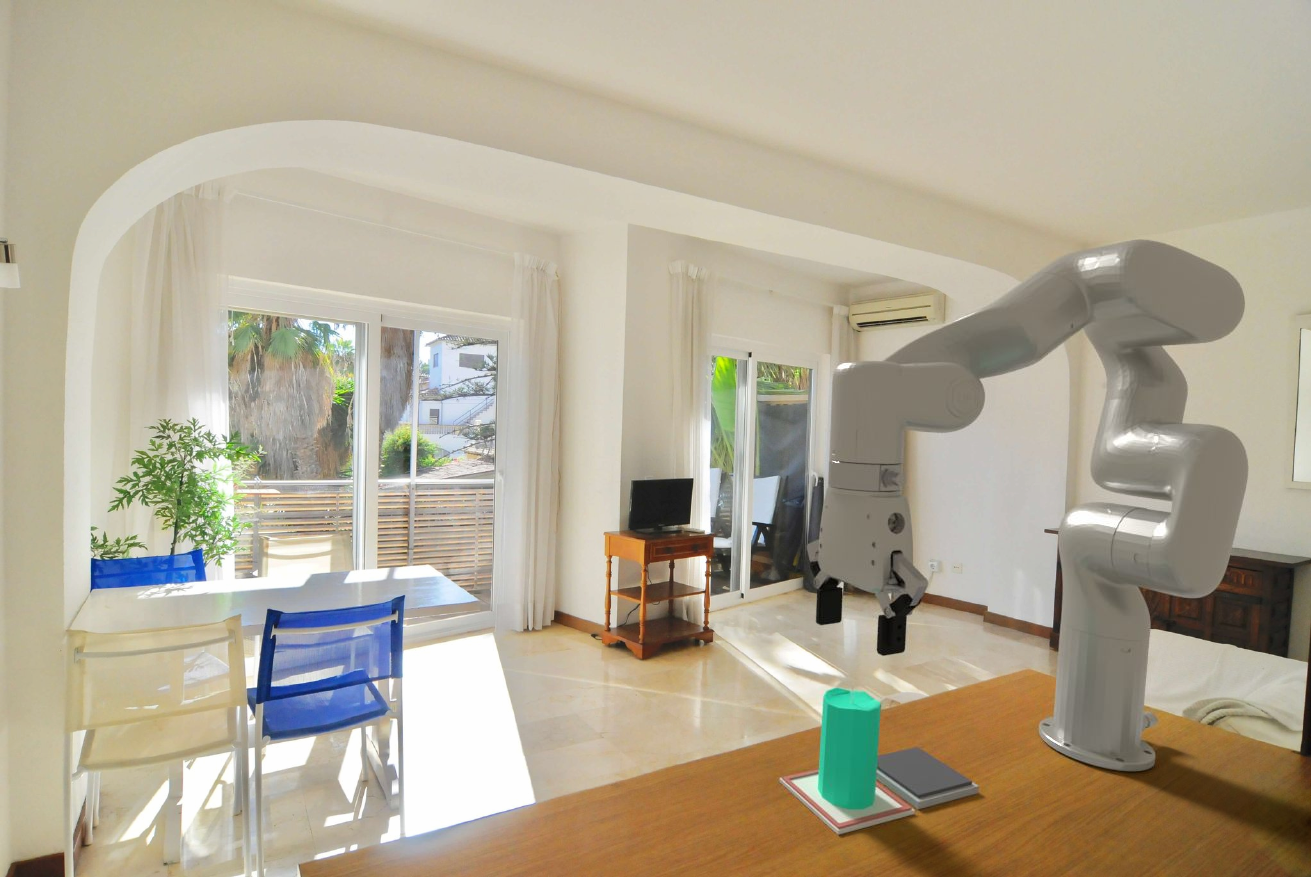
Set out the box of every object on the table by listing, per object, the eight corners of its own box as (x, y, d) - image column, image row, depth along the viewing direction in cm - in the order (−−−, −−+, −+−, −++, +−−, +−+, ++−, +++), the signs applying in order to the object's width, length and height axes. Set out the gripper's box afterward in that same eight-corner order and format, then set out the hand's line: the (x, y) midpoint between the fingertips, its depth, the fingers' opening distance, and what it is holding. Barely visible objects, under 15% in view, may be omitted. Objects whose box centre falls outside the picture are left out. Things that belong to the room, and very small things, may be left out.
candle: (878, 814, 70) (885, 700, 69) (818, 804, 71) (825, 692, 70) (871, 783, 76) (878, 677, 75) (816, 774, 77) (823, 670, 76)
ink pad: (916, 753, 84) (917, 744, 84) (978, 793, 75) (979, 782, 75) (859, 766, 80) (860, 756, 80) (917, 809, 72) (918, 798, 72)
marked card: (849, 765, 80) (850, 761, 80) (914, 813, 71) (914, 808, 71) (779, 781, 76) (779, 776, 76) (837, 834, 67) (838, 828, 67)
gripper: (957, 488, 65) (948, 661, 66) (839, 469, 81) (833, 610, 82) (897, 490, 62) (889, 672, 63) (787, 470, 78) (781, 616, 79)
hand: (857, 637), depth 73 cm, fingers open, 9 cm apart
